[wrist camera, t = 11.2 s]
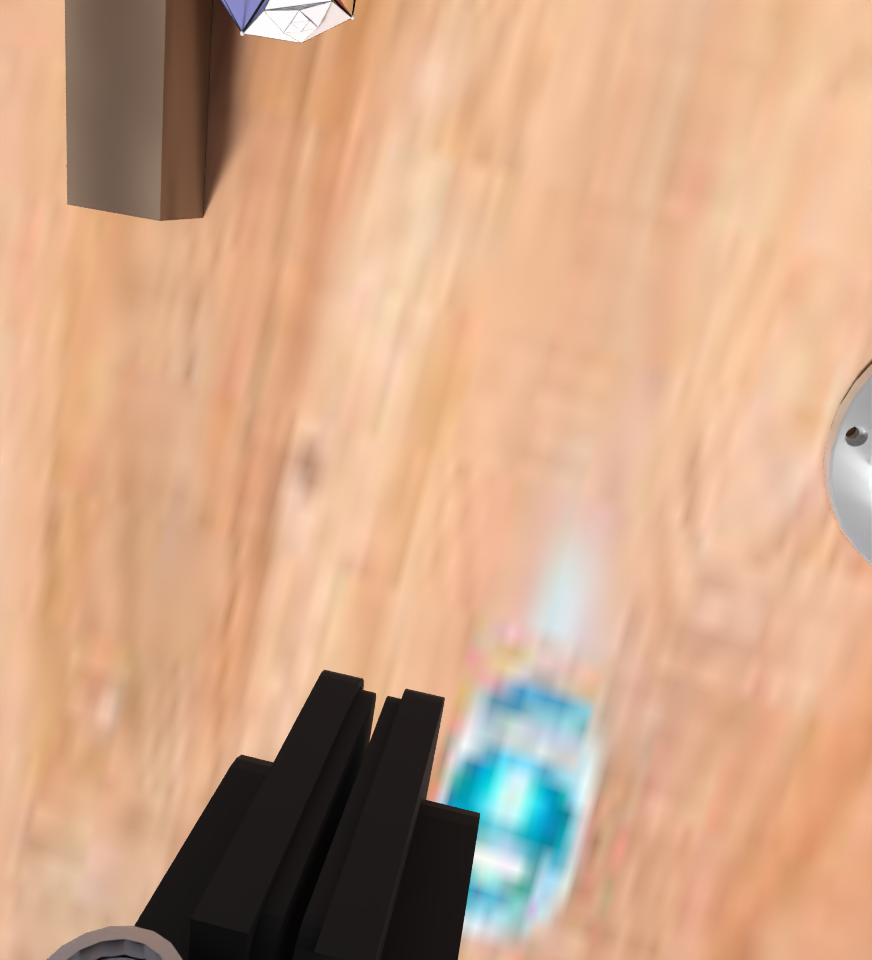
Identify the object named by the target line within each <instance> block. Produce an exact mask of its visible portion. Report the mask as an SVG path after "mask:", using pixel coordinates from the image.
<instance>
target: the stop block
mask: <svg viewBox="0 0 872 960" xmlns="http://www.w3.org/2000/svg"><path fill="white" fill-rule="evenodd" d="M212 6H213V0H65V43H66V124H67V204H68V205H73V206H79V207H85V208H90V209H96V210H102V211H107V212H113V213H119V214H124V215H130V216H136V217H141V218H147V219H152V220H158V221H164V220H178V219H192V218H203V203H204V181H205V159H206V138H207V116H208V94H209V72H210V50H211V28H212Z"/></svg>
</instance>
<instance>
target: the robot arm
mask: <svg viewBox="0 0 872 960" xmlns="http://www.w3.org/2000/svg"><path fill="white" fill-rule="evenodd" d="M852 427H856V431H855V433H854V434H853V435H851V436H846V433H847V431H848V430H849V429H851V428H852ZM824 486H825V490H826V494H827V498H828V502H829V506H830V510H831V512H832V514H833V516H834V518H835V519H836V521H837V523H838V525H839V527H840V529H841V531H842V533H843V534H844V535H845V536H846V538H847V539H848V540H849V542H850V543H851V544H852V546H853V547H854V548H855V550H856V551H857V552H858V553H859V554H860V555H861V556H862V557H863V558H864V559H865V560H866V561H867V562H868V563H869V564H870V565H872V364H871V365H870V366H869V367H868V368H867V370H866V371H865V372H864V373H863V374H862V375H861V376H860V377H859V378H858V379H857V380H856V382H855V383H854V385H853V386H852V388H851V389H850V391H849V392H848V394H847V395H846V397H845V399H844V400H843V402H842V403H841V405H840V406H839V409H838V411H837V414H836V416H835V418H834V421H833V423H832V426H831V428H830V431H829V433H828V439H827V444H826V450H825V455H824ZM363 687H364V680H363V679H362V678H358V677H353V676H349V675H345V674H340V673H336V672H332V671H327V670H324V671H322V673H321V674H320V676H319V678H318V680H317V682H316V684H315V685H314V687H313V689H312V691H311V693H310V695H309V697H308V699H307V700H306V702H305V704H304V706H303V708H302V710H301V712H300V714H299V716H298V717H297V719H296V721H295V723H294V725H293V727H292V729H291V731H290V732H289V734H288V736H287V738H286V740H285V742H284V744H283V746H282V748H281V749H280V751H279V753H278V755H277V757H276V759H275V761H274V763H273V762H269V761H265V760H261V759H257V758H253V757H249V756H245V755H240V756H239V757H237V758H236V760H235V761H234V762H233V764H232V765H231V766H230V768H229V770H228V771H227V773H226V775H225V776H224V778H223V780H222V781H221V783H220V785H219V786H218V788H217V790H216V791H215V793H214V795H213V796H212V798H211V800H210V801H209V803H208V805H207V806H206V808H205V810H204V811H203V813H202V815H201V816H200V818H199V820H198V821H197V823H196V824H195V826H194V828H193V829H192V831H191V833H190V834H189V836H188V838H187V839H186V841H185V843H184V844H183V846H182V848H181V849H180V851H179V853H178V854H177V856H176V858H175V859H174V861H173V863H172V864H171V866H170V868H169V869H168V871H167V873H166V874H165V876H164V878H163V879H162V881H161V883H160V884H159V886H158V888H157V889H156V891H155V892H154V894H153V896H152V897H151V899H150V901H149V902H148V904H147V906H146V907H145V909H144V911H143V912H142V914H141V916H140V917H139V919H138V921H137V922H136V924H135V926H110V927H106V928H102V929H99V930H95V931H92V932H88V933H85V934H83V935H81V936H79V937H78V938H76V939H74V940H72V941H70V942H68V943H67V944H65V945H63V946H61V947H60V948H59V949H58V950H57V951H56V952H55V953H54V954H52V955H51V956H50V957H49V958H48V959H47V960H458V954H459V948H460V942H461V935H462V929H463V922H464V916H465V909H466V903H467V897H468V890H469V884H470V877H471V871H472V864H473V858H474V852H475V845H476V839H477V832H478V826H479V819H480V813H477V812H473V811H469V810H465V809H461V808H457V807H452V806H448V805H444V804H440V803H436V802H432V801H428V800H426V797H427V791H428V786H429V781H430V775H431V770H432V765H433V759H434V754H435V749H436V744H437V738H438V733H439V728H440V722H441V717H442V712H443V706H444V700H445V698H444V697H440V696H435V695H431V694H427V693H422V692H418V691H414V690H409V689H405V691H404V693H403V696H402V699H399V698H395V697H391V696H387V698H386V700H385V703H384V706H383V708H382V711H381V714H380V716H379V719H378V722H377V724H376V727H375V730H374V732H373V735H372V738H371V740H370V735H371V728H372V721H373V715H374V708H375V701H376V693H373V692H369V691H365V690H363ZM369 741H370V743H369Z"/></svg>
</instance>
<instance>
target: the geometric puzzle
mask: <svg viewBox="0 0 872 960" xmlns="http://www.w3.org/2000/svg"><path fill="white" fill-rule="evenodd" d="M220 1H221V2H222V4H223V5H224V7H225V8H226V10H227V11H228V13H229V14H230V16H231V18H232V19H233V21H234V22H235V24H236V25H237V27H238V28H239V30H240V31H241V32H240V34H241V35H242V36H243V35H244V34H248V35H254V36H261V37H267V38H273V39H279V40H285V41H291V42H298V43H303V42H305V41H307V40H309V39H311V38H313V37H315V36H317V35H319V34H321V33H323V32H325V31H327V30H329V29H331V28H333V27H335V26H337V25H339V24H341V23H343V22H345V21H347V20H349V19H352V20H353V19H354V18H355V17H354V15H353V13H354V7H355V1H356V0H354V3H353V11H352V15H351V14H350V13H349V12H348V11H347V9H346V8H345V6H344V5H343V3H342V2H341V1H340V0H334V2H333V1H332V0H220ZM258 15H259V16H258ZM248 26H249V27H248Z"/></svg>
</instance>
